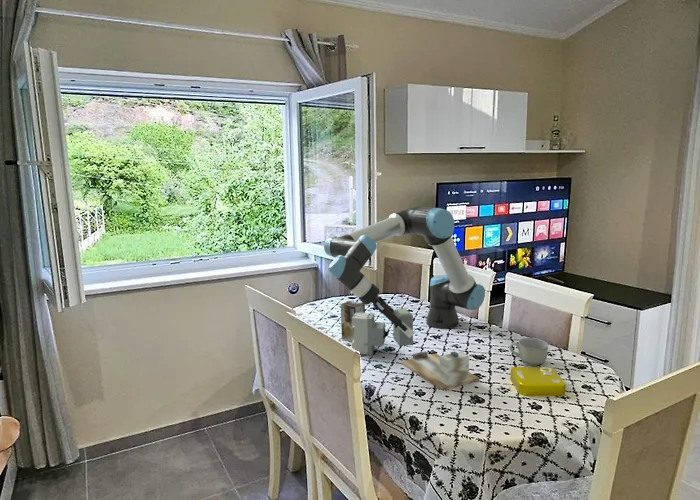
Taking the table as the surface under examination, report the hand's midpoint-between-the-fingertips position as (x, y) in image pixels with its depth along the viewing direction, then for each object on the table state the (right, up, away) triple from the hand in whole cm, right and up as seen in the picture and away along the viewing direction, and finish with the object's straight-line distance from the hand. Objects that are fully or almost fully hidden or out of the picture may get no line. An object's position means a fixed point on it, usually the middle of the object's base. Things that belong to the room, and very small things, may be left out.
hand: (409, 330), depth 186 cm
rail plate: (+11, -15, +2) cm, 19 cm away
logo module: (-2, -4, 0) cm, 5 cm away
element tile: (+42, -18, -12) cm, 47 cm away
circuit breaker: (-13, -12, +23) cm, 29 cm away
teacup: (+46, -13, +9) cm, 49 cm away
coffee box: (-20, -10, +37) cm, 43 cm away
